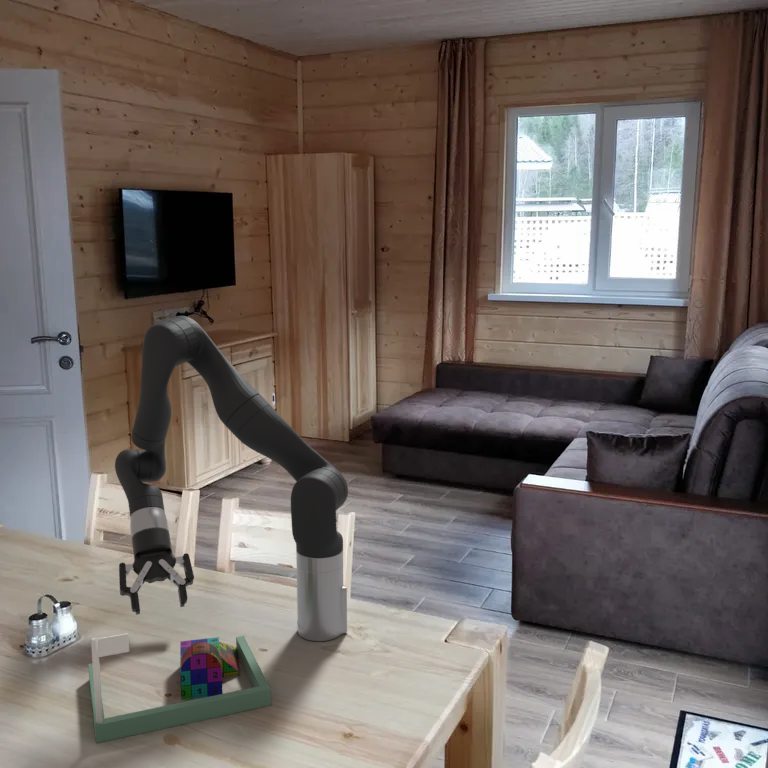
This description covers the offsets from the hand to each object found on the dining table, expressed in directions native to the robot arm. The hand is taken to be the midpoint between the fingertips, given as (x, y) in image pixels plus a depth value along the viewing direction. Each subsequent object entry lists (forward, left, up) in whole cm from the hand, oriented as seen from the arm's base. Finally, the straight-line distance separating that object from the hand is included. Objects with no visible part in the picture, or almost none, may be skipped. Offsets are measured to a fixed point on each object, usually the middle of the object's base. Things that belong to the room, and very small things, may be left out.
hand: (160, 609), depth 161 cm
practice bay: (0, +21, -6) cm, 22 cm away
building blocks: (-6, +17, -6) cm, 19 cm away
